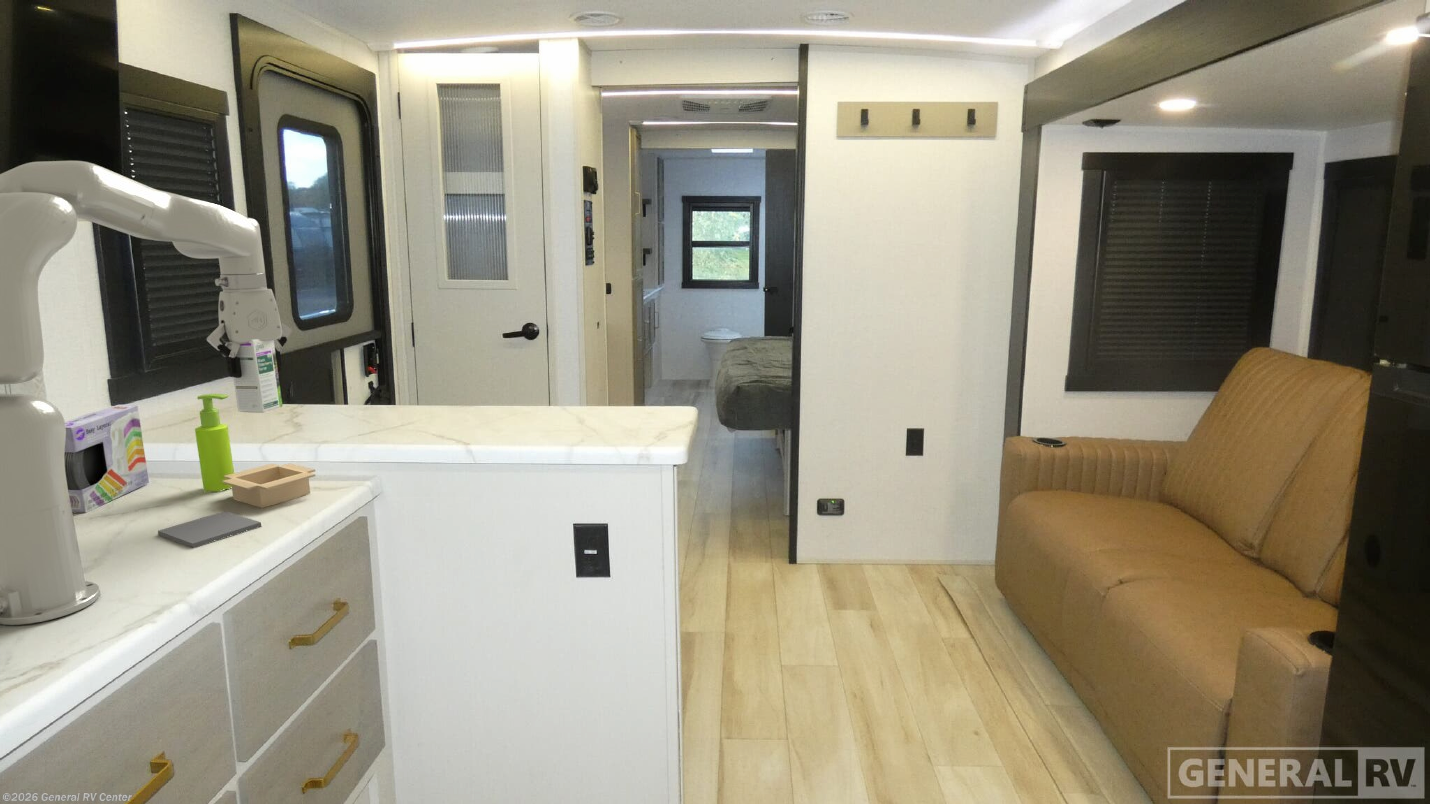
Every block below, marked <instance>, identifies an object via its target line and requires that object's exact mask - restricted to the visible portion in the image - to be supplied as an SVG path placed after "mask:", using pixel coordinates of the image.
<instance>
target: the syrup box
mask: <svg viewBox="0 0 1430 804" xmlns="http://www.w3.org/2000/svg"><path fill="white" fill-rule="evenodd" d="M236 357H239V358H240V365H241V373H242V377H241V378H235V377H232V378H233V384H234V391H235V396H236V397H235V398H236V405H237V411H238V412H240V413H248V414H249V413H250V414H251V413H252V414H253V413H255V414H260V413H261V414H263V413H264V414H265V413H266V412H269V411H272V410H276V409H279V408H282V407H283V399H282V392H281V386H280V385H281V384H280V377H279V372H278V369H277V362H276V354H275V347H274V340H270V341H260V340H258V339H253V340H250V342H249V343H246V344H240V347H239V349H238V352H237V354H236Z"/></svg>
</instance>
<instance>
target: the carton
mask: <svg viewBox="0 0 1430 804" xmlns="http://www.w3.org/2000/svg"><path fill="white" fill-rule="evenodd" d="M314 472H316V469H314V468H311V467H307V466H303V465H302V466H301V465H299V464H293V463H290V462H289V463H287V464H286V463H285V464H283V465H279V464H276V463H268V464H265V465H261V466H258V467H254V468H253V467H252V468H250V469H245V470H242V471H239V472H234V474H230V475H226V476H224V478H226V479H228V480H224V481H222V483H224V484H228V485H231V486H232V488H231V491H232V498H233V500H234V499H235V500H234V501H237V500H239V501H238V502H240V503H241V502H242V503H245V504H247V503H248V505H252V506H254V507H258V508H260V509H263V508H266V507H269V506H272V505H277V504H280V503H284V502H286V501H291V500H293V499H296V498H300V497H304V496H306V495H307V496H308V495H310V494H311V487H310V480H309V479H310V478H314V477H316V473H314Z"/></svg>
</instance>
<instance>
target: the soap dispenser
mask: <svg viewBox="0 0 1430 804" xmlns="http://www.w3.org/2000/svg"><path fill="white" fill-rule="evenodd" d="M228 397H229V395H226V394H222V393H206V394H201V395H198V396H197V400H202V406H203V409H201V410H200V411H199V416H200V425H201V426H197V427H196V428H194V432H195V439H196V445H197V446H196V447H197V453H198V454H197V455H198V459H199V460H198V461H199V466H200V467H199V468H200V474H201V480H202V488H203V491H204V490H206V491H205V492H207V491H217V492H221V491H220V490H223V489H228V490H230V489H229V488H231V487H232V486H231V485H228V484H224V483H222V481H224V480H228V479H226V478H224V476H226V475H230V474H234V473H235V472H234V471H235V469H234V462H233V455H232V448H231V441H230V435H229V426H228V425H227V424H225V423H221V420H220V418H221V417H220V413H219V409H218V408H216V407H214V403H213V399H216V400H225V399H227V398H228ZM231 489H232V488H231Z"/></svg>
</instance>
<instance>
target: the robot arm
mask: <svg viewBox="0 0 1430 804" xmlns="http://www.w3.org/2000/svg"><path fill="white" fill-rule="evenodd" d="M78 219H81V220H85V221H89V222H92V223H95V224H98V225H100V226H104V227H107V228H109V229H111V230H116V231H117V232H121V233H123V234H126V235H130V236H131V237H135V238H139V239H143V240H150V241H152V240H153V241H156V242H157V241H158V242H159V241H160V242H172V244H173V246H174V248H175V249H176V250H177V251H178V252H179V253H180V254H182V255H184V256H186V257H189V258H191V259H203V260H205V259H218V263H219V270H220V275H219V276H220V277H219V278H216V279H214V283H215V286H217V287H221V289H222V291H220V292H219V296H218V326H217V328H215V329H214V330H213V331H212V332H211V333H210V335H209V334H208V336H207V337H206V341H207V342H208V343H209V344H210V345H211V346H212V347H213V348H214V349H215V350H216V351H217V352H218V353H220V354H221V355H222V356H223V357H224V358H225V362H226V369H227V370H226V371H227V373H228V374H229V377H230V378H233V377H235V378H241V377H242V373H241V365H240V358H239V357H236V354H237V352H238V349H239V347H240V344H246V343H249V342H250V340H253V339H258V340H260V341H270V340H274V347H275V354H276V362H277V369H278V373H279V372H281V371H282V369H281V366H282V359H281V358H282V357H281V351H283V347H284V346H285V344H286V343H287V342H288V339H289V337H290V335H291V333H292V332H293V329H292V328H291V327H289V326H288V325H286V324H285V323H283V322H282V321H281V317H280V316H281V315H280V312H279V308H278V304H277V301H276V298H275V295H274V292H273V290H272V288H268V287H267V284H268V283H267V278H266V268H265V259H264V251H263V245H262V243H263V242H262V236H261V235H262V234H261V228H260V224H259V222H258V220H256V219H254V218H253V217H246V216H244V215H243V214H240V213H239V212H237V211H234V210H232V209H229V208H227V207H224V206H222V205H220V204H215V203H212V202H208V201H205V200H200V199H196V198H191V197H188V196H184V195H180V194H177V193H173V192H169V191H165V190H161V189H157V188H153V187H150V186H148V185H146V184H144V183H141V182H139V181H136V180H134V179H131V178H129V177H127V176H124V175H121V174H120V173H117V172H114V171H112V170H110V169H108V168H105V167H103V166H100V165H98V164H96V163H92V162H89V161H83V160H56V161H55V160H52V161H50V160H48V161H32V162H26V163H23V164H21V165H18V166H16V167H14V168H12V169H9V170H7V171H4V172H2V173H0V385H15V384H16V385H19V384H23V383H27V382H30V381H31V380H33V379H35V378H36V377H38V375H40V373H41V371H42V369H43V366H44V359H45V351H44V339H43V332H42V324H41V323H42V321H41V314H40V305H39V290H38V289H39V280H40V276H41V275H42V272H43V269H44V268H45V266H46V265H47V264H48V262H49V261H50V260H51V259H52V258H53V256H54V255H56V253H58V252H59V251H61V249H63V248H64V247H66V246H67V245H68V244H69V243H70V241H71V240H72V239H73V238H74V236H75V234H76V231H77V226H78ZM220 339H221V340H222V342H223V343H225V344H223V343H222V342H221V341H220ZM65 422H66V421H65V419H64V416H63V414H62V413H61V410H59V408H57V407H56V405H54V404H53V403H52V402H50V401H49V400H46V399H45V398H42V397H39V396H34V395H29V394H21V393H0V624H1V625H8V626H9V625H10V626H19V625H20V626H21V625H29V624H31V625H32V624H37V623H42V622H47V621H51V620H54V619H55V620H56V619H59V618H62V617H65V616H69V615H70V614H73V613H76V612H79V611H80V610H82V609H85V608H86V607H89V606H91V605H92V604H93V603H94V602H96V601H97V600H98V599H99V597H100V596H101V589H100V585H99V584H97V583H95V582H92V581H87V580H86V579H85V575H84V570H83V563H82V559H81V553H80V548H79V542H78V536H77V532H76V525H75V521H74V520H75V519H74V515H73V514H74V513H72V508H71V503H70V498H69V492H68V487H67V480H66V473H65V460H64V454H65V439H66V426H65Z"/></svg>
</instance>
